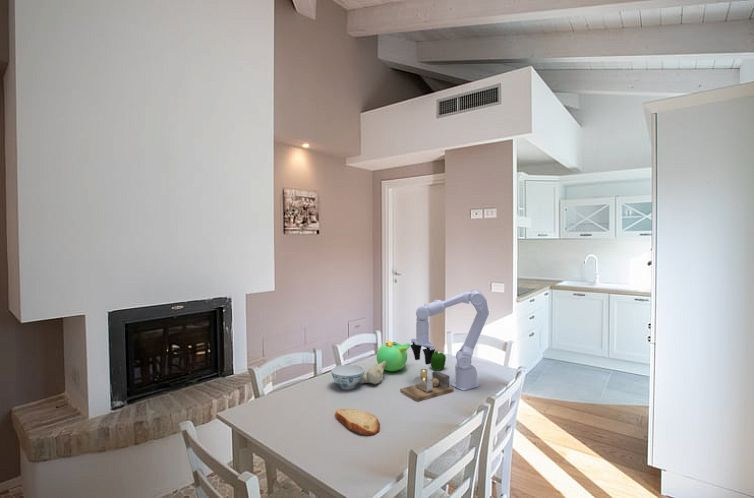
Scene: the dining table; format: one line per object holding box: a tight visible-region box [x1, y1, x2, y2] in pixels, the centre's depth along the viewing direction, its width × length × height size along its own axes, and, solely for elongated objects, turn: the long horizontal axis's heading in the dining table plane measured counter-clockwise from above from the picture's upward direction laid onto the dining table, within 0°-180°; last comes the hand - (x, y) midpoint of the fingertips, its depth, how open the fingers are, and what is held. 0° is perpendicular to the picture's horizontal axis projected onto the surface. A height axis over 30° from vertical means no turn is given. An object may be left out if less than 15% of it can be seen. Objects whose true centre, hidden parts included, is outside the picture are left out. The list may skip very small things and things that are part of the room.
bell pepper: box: [429, 349, 447, 371], centre depth 198 cm, size 8×8×10 cm
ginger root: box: [358, 361, 386, 385], centre depth 180 cm, size 15×7×15 cm
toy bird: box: [376, 340, 411, 372], centre depth 197 cm, size 18×17×15 cm
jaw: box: [414, 368, 433, 392], centre depth 167 cm, size 3×8×8 cm, turn 32°
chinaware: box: [331, 364, 365, 390], centre depth 174 cm, size 15×15×8 cm
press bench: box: [399, 370, 454, 403], centre depth 168 cm, size 20×12×6 cm, turn 122°
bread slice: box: [334, 408, 381, 437], centre depth 139 cm, size 18×18×4 cm
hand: (422, 361), depth 176 cm, fingers open, 7 cm apart
